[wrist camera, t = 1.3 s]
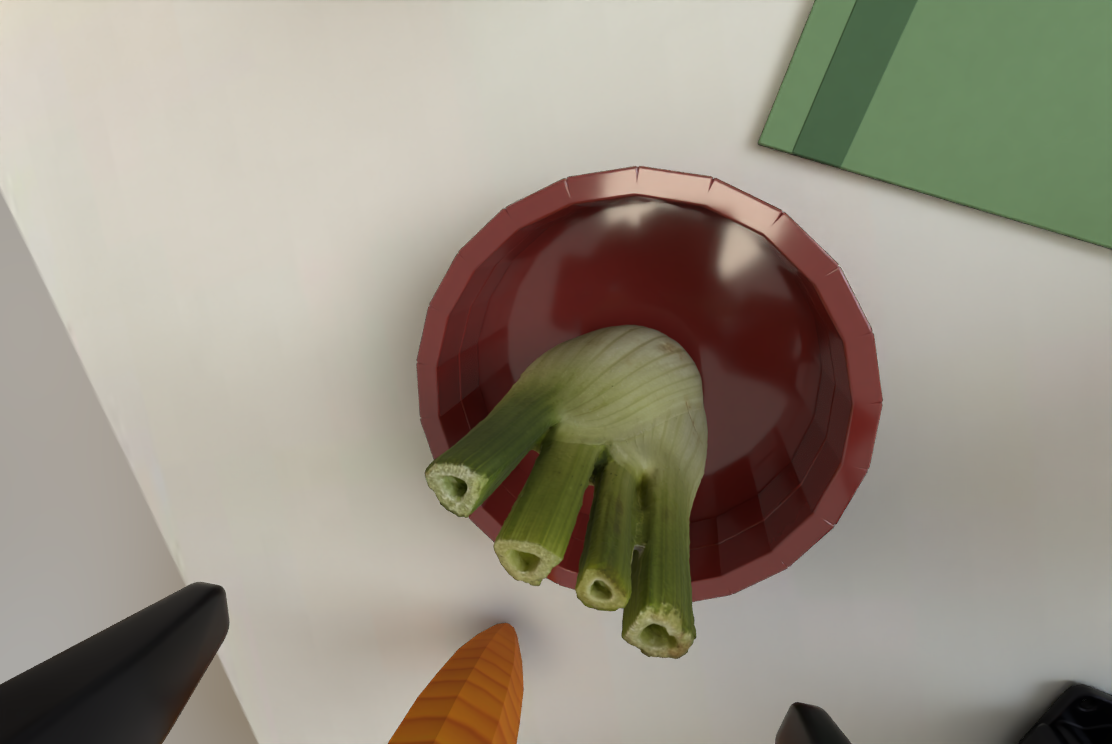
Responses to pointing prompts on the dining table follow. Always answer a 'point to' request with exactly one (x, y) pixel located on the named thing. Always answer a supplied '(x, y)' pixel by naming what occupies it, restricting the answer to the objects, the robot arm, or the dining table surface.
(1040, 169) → the tea towel
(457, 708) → the carrot
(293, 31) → the dining table surface
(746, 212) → the bowl
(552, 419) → the fennel bulb
